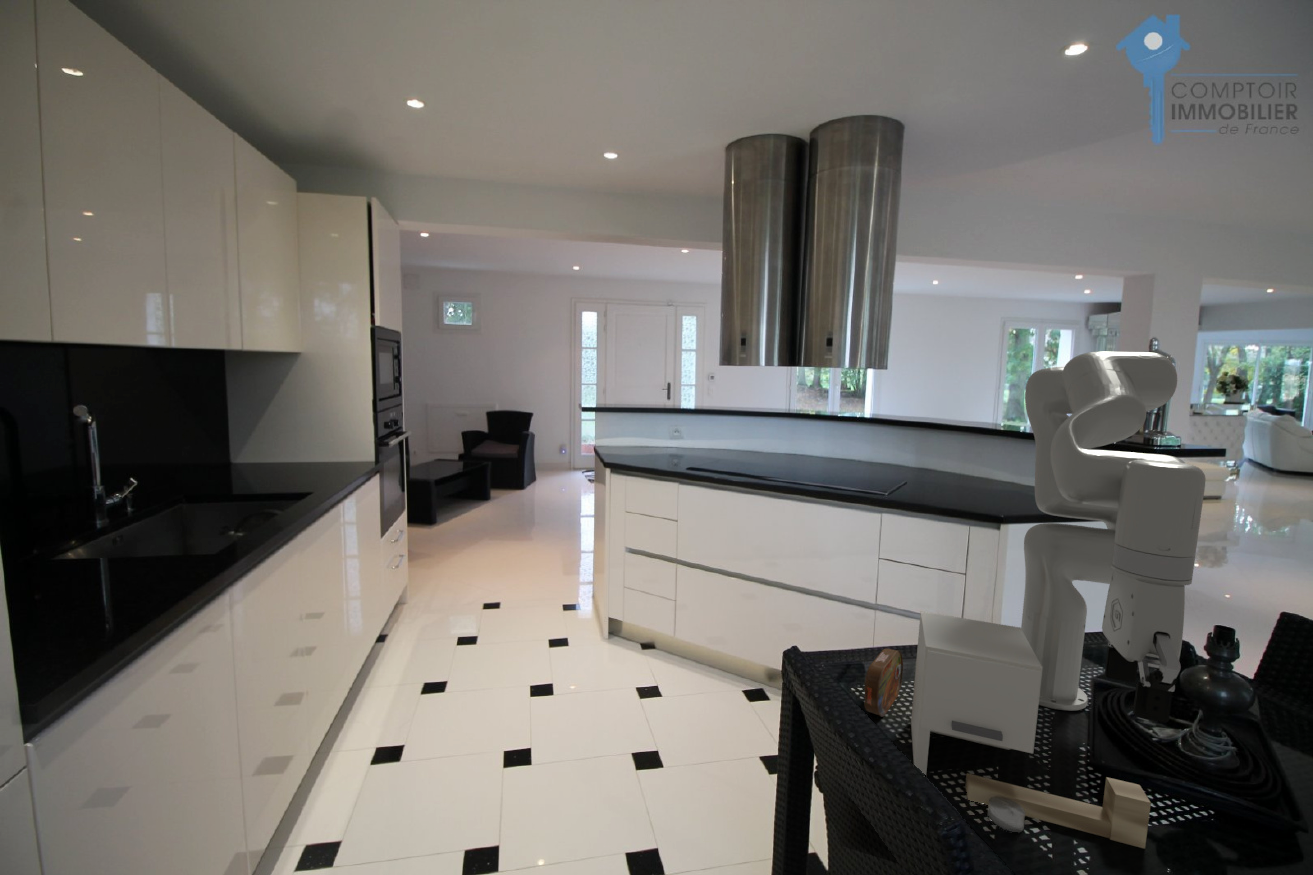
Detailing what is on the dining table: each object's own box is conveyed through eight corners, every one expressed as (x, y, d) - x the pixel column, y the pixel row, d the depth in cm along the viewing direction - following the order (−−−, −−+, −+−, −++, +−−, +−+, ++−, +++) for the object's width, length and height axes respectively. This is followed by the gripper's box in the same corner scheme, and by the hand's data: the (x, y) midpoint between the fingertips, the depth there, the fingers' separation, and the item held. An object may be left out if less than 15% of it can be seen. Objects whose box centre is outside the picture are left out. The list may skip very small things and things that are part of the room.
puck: (985, 807, 78) (986, 793, 78) (1019, 815, 77) (1021, 801, 77) (990, 828, 74) (991, 813, 74) (1026, 837, 73) (1028, 822, 73)
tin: (878, 725, 96) (882, 676, 95) (858, 718, 98) (862, 669, 97) (903, 689, 108) (906, 645, 107) (885, 683, 110) (889, 640, 109)
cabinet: (910, 722, 97) (920, 611, 95) (1008, 744, 92) (1020, 627, 90) (914, 780, 83) (926, 650, 81) (1030, 810, 78) (1045, 673, 76)
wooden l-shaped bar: (965, 785, 82) (969, 745, 82) (1133, 828, 75) (1139, 784, 75) (968, 801, 79) (972, 759, 78) (1144, 848, 72) (1150, 802, 71)
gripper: (1091, 541, 80) (1077, 660, 82) (1141, 580, 64) (1122, 728, 66) (1159, 548, 78) (1143, 672, 79) (1229, 592, 62) (1207, 745, 63)
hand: (1133, 697), depth 73 cm, fingers open, 9 cm apart
